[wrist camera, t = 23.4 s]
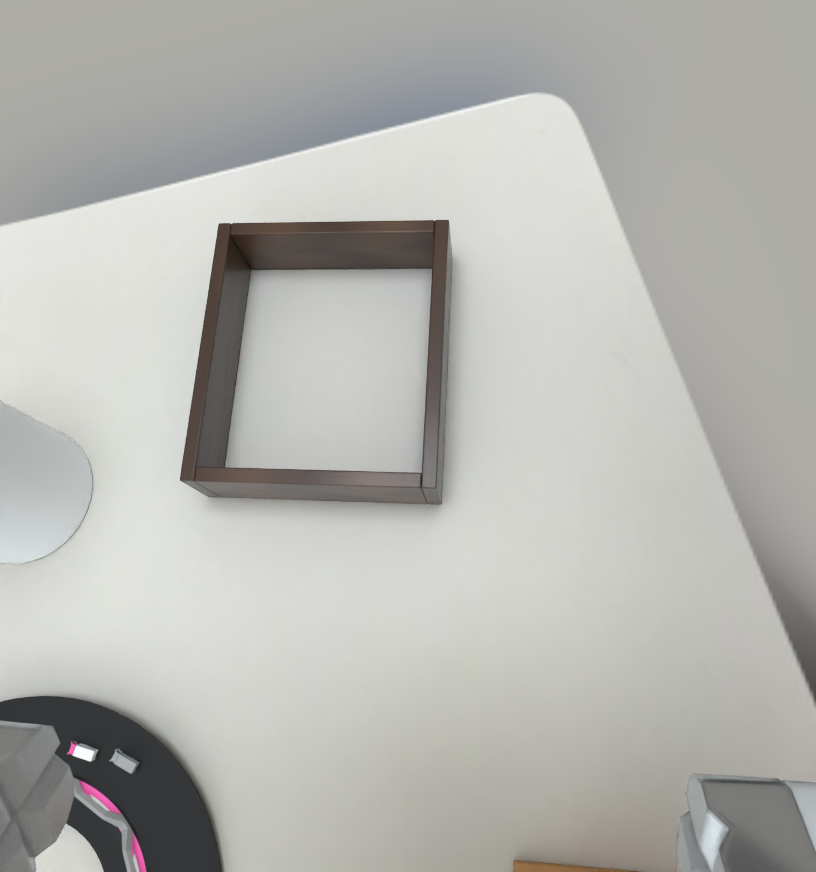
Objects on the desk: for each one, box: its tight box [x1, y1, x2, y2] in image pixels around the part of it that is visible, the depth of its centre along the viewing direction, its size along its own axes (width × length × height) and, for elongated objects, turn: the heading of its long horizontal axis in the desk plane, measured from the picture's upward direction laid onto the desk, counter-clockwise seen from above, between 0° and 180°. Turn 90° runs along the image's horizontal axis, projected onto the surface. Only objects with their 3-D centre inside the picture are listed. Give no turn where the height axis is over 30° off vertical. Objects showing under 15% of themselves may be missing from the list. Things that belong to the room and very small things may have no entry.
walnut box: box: [180, 220, 452, 504], centre depth 41 cm, size 14×16×4 cm
